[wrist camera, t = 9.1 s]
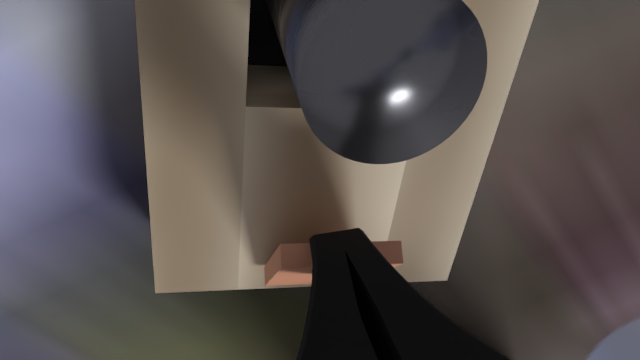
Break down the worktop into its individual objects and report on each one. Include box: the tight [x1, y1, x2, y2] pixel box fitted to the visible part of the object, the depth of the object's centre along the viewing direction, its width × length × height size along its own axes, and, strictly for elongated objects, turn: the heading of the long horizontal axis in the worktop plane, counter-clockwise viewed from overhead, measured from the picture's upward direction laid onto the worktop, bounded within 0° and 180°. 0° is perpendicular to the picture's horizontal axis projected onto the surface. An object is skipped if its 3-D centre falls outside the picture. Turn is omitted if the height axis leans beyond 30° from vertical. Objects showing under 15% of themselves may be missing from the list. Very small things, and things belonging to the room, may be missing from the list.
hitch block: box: [134, 0, 539, 293], centre depth 16 cm, size 10×13×3 cm
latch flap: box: [264, 241, 404, 286], centre depth 15 cm, size 3×4×1 cm
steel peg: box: [266, 0, 487, 164], centre depth 13 cm, size 4×4×7 cm
